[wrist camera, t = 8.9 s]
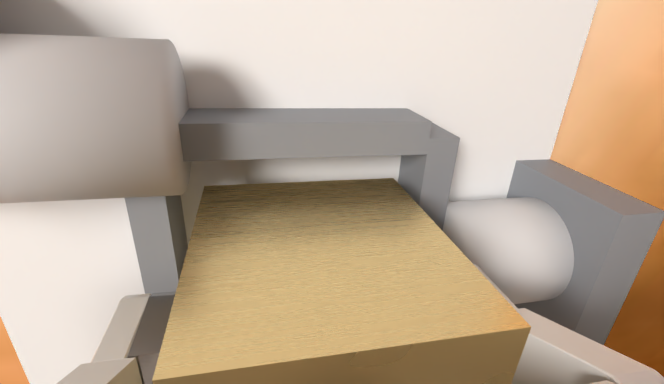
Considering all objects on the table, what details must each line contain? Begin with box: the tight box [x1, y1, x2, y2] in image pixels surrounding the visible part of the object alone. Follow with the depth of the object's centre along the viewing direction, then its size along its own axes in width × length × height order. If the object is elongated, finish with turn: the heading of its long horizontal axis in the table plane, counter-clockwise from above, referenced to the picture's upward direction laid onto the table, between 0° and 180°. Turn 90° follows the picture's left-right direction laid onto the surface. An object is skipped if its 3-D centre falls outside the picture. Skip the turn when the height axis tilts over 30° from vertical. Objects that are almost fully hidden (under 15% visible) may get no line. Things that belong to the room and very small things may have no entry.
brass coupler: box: [152, 178, 531, 384], centre depth 7 cm, size 4×4×6 cm
